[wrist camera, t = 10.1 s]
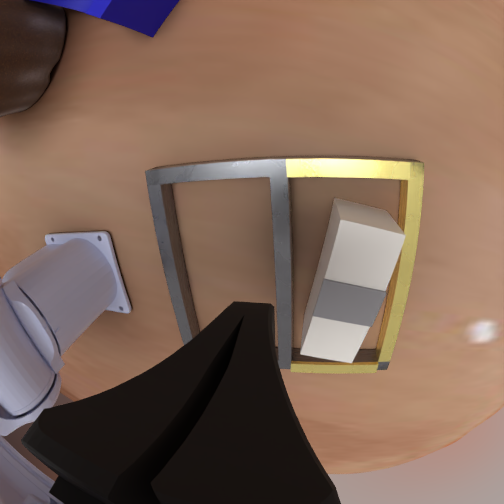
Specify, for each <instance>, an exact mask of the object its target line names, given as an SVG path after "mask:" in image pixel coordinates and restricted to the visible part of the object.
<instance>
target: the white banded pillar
mask: <svg viewBox="0 0 504 504" xmlns="http://www.w3.org/2000/svg"><path fill="white" fill-rule="evenodd" d="M405 237H406V235H405V233H404V232H403V231H402V230H401V228H400V227H399V226H398V224H397V223H396V222H395V220H394V219H393V218H392V217H391V215H390V214H389V213H388V212H387V210H383V209H380V208H376V207H372V206H368V205H364V204H360V203H356V202H351V201H347V200H343V199H339V198H334V202H333V207H332V211H331V215H330V220H329V224H328V228H327V232H326V236H325V240H324V244H323V248H322V252H321V256H320V260H319V263H318V267H317V271H316V275H315V278H314V282H313V285H312V289H311V292H310V296H309V299H308V303H307V306H306V310H305V313H304V321H303V331H302V341H301V350H300V354H301V355H306V356H312V357H317V358H323V359H329V360H335V361H341V362H347V363H352V362H353V360H354V358H355V356H356V354H357V352H358V350H359V348H360V346H361V344H362V342H363V340H364V338H365V336H366V334H367V332H368V329H369V327H372V325H373V323H374V321H375V318H376V316H377V314H378V312H379V310H380V307H381V305H382V303H383V300H384V298H385V296H386V293H387V292H386V288H387V286H388V283H389V281H390V278H391V276H392V273H393V270H394V268H395V265H396V262H397V260H398V257H399V254H400V251H401V248H402V245H403V243H404V240H405Z"/></svg>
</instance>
